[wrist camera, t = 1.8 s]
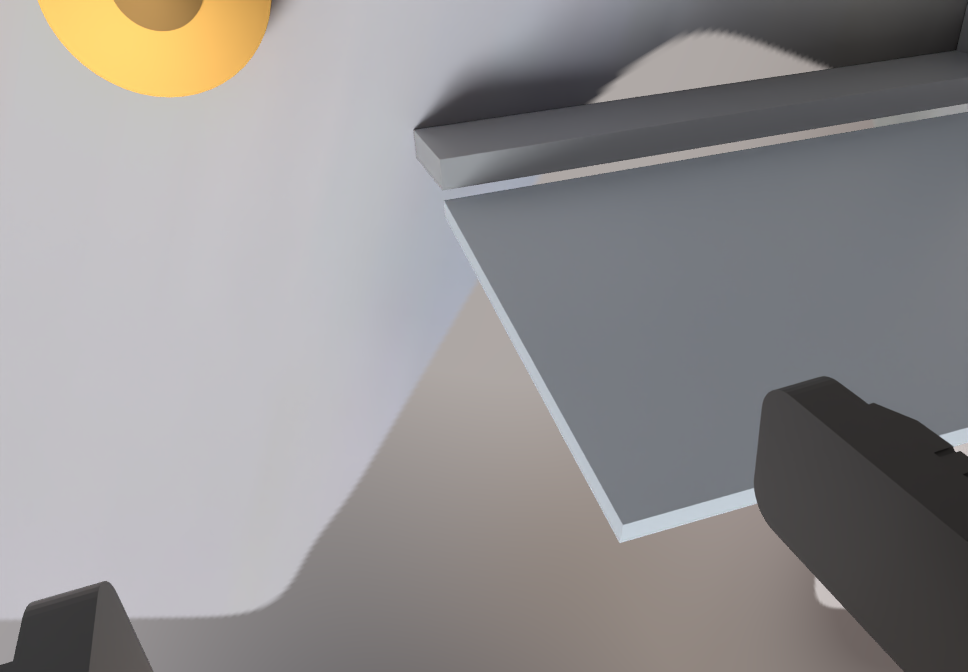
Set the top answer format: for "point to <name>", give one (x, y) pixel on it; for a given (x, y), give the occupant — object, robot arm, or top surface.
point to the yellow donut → (160, 40)
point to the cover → (730, 302)
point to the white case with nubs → (689, 118)
